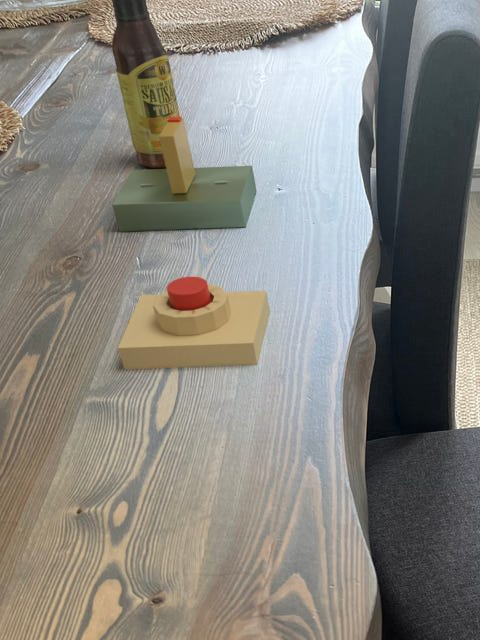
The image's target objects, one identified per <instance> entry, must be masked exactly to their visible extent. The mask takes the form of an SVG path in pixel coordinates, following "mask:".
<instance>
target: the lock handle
mask: <svg viewBox="0 0 480 640" xmlns="http://www.w3.org/2000/svg"><path fill="white" fill-rule="evenodd" d="M186 128H187V127H186V124H185V120H184V118H182V116H180V117H169V119H168V122H167V123H166V125H165V127H164V129H163V130H162V132H161V134H160V135H159V140H160V144H161V148H162V152H163V156H164V161H165V165H166V167H165V169H167V173H168V178H169V182H170V186H171V190H172V194H177V193H187V191H188V189H189V187H190V185H191V183H192V180H193V178H194V176H195V169H194V168H195V165H194V160H193V156H192V152H191V147H190V143H189V142H190V141H189V138H188V137H189V136H188V134H187V129H186Z"/></svg>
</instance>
